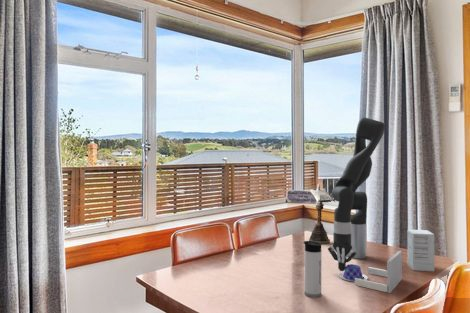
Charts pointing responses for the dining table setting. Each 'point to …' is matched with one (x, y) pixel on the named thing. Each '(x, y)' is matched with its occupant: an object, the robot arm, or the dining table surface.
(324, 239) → the brown tall flared piece
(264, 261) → the dining table surface
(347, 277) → the blue checkered hat
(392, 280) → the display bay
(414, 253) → the supplement box
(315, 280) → the travel mug
